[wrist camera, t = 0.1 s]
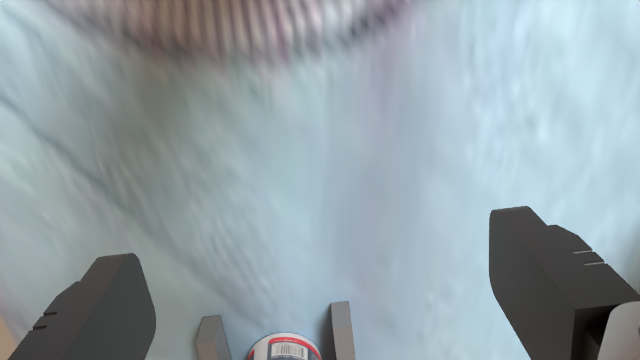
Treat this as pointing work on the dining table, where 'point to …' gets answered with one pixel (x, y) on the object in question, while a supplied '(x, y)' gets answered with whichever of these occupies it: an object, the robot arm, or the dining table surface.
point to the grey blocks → (217, 351)
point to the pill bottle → (284, 348)
